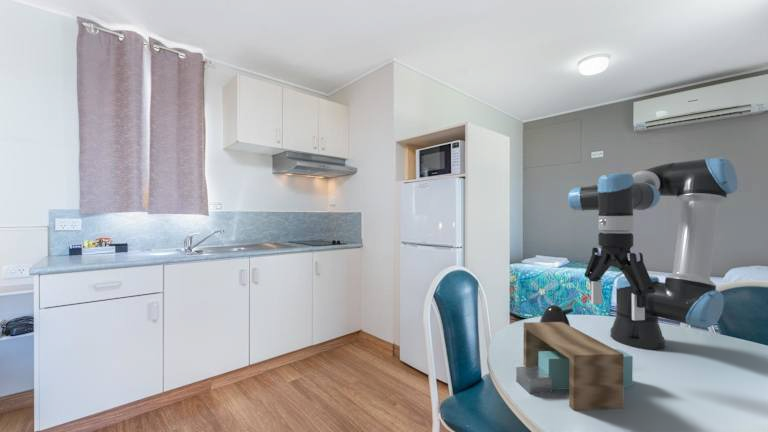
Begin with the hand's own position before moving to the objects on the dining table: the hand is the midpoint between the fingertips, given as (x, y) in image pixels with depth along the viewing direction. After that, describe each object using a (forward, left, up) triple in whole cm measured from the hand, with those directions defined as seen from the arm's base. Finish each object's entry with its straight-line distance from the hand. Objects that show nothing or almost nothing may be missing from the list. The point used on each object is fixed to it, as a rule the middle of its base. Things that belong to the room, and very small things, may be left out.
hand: (615, 311), depth 84 cm
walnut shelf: (+14, 0, -19) cm, 23 cm away
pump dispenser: (+5, -19, -19) cm, 27 cm away
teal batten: (+9, 0, -19) cm, 21 cm away
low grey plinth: (+23, +1, -19) cm, 30 cm away
